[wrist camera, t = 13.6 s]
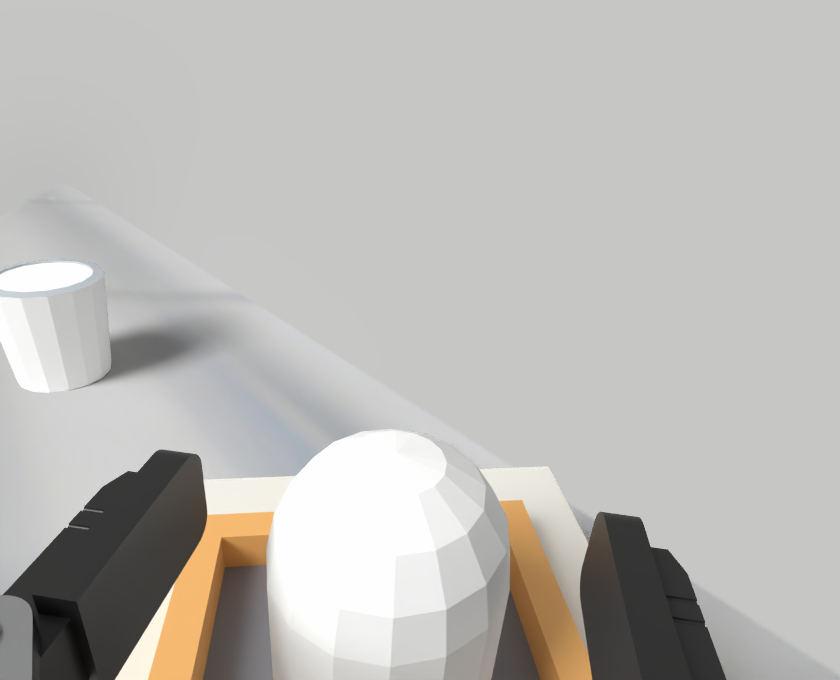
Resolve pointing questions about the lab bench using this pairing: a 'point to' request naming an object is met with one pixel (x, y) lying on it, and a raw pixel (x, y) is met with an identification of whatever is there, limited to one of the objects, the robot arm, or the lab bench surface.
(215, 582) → the plate
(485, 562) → the capsule
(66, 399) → the lab bench surface
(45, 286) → the white tapered cup
